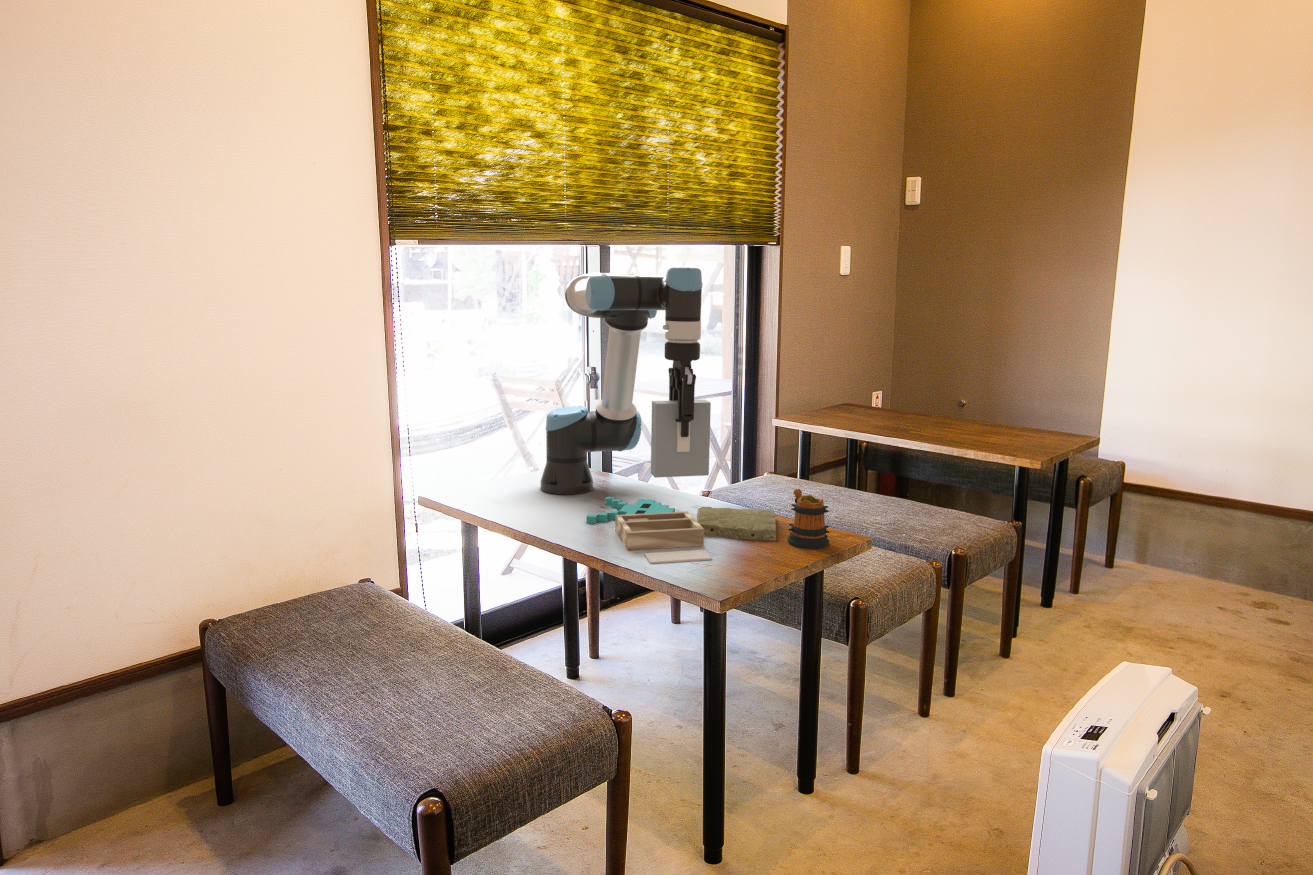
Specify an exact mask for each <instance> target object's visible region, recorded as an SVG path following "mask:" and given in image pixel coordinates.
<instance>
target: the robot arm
mask: <svg viewBox="0 0 1313 875" xmlns="http://www.w3.org/2000/svg"><path fill="white" fill-rule="evenodd" d="M702 276H703V275H702V270H701V269H700V268H699V267H696V266H689V267H688V266H670V267H668V268H667V269H666V272H665V274H660V275H649V274H646V273H636V272H631V273H630V272H622V273H621V272H619V273H618V272H591V273H585V274H582V275H581V274H580V275H578V276H576V277H574V278H573V279H571V280H570V281H569V282H568V283H567V286H566V287H565V290H564V291H565V292H564V299H565V302H566V305H567V306H568V307H569V309H570V310H571V311H573V312H574V313H576V314H578V315H581V316H584V317H588V318H594V319H595V318H596V319H598V318H599V319H604V323H605V325H607V326H608V329H609V330H608V337H607V338H608V340H607V347H606V356H605V357H606V358H605V368H604V376H603V388H602V389H603V391H602V399H601V400H599V401H598V402H597V403H596V405H595V411H593V410H592V411H589V410H588V408H587V406H583V405H578V406H576V405H574V406H573V405H571V406H566V407H565V406H564V407H560V408H556V409H554V410H551V411H550V412H548V413H547V416H546V422H545V433H546V434H545V435H546V443H545V444H546V446H545V447H546V450H545V451H546V453H545V454H546V463H545V467H544V469H543V472H542V476H541V479H540V490H541V491H542V492H545V493H547V494H548V493H549V494H553V495H578V494H585V493H588V492H591V491H593V489H594V480H593V476H592V472H591V470H590V466H589V463H588V453H592V452H593V453H595V452H596V453H597V452H623V451H631V450H632V449H635V448H636V446H637V445H638V444H639V441H640V438H641V435H642V427H641V426H642V417H641V413H640V412H639V411H638V410H637V407H636V405H635V404H634V403H633V400H634V399H633V398H634V393H635V392H634V391H635V384H636V383H635V382H636V375H637V374H636V373H637V368H638V357H639V350H640V341H641V336H642V335H641V334H642V333H641V332H643V330H645V329H646V328H647V327H648V323H649V322H648V321H649V319H650V320H651V319H654V318H655V317H656V315H657V313H658V312H657V311H665V317H664V319H665V324H663V326H662V330H665V331H664V332H665V333H664V334H665V335H664V338H665V339H666V340H667V341H665V342H664V358H665V359H666V360H668V361H672V367H669V368H668V379H669V381H668V382H669V384H668V387H669V388H668V401H673V400H678V411H679V419H675V421H676V422H677V452H689V451H690V422H691V420H693V419H694V400H695V392H696V391H695V389H696V388H695V386H696V380H697V375H696V374H695V373H694V369H693V368H692V362H693V361H694V362H695V361H698V360H700V358H701V343H700V342H699V340H701V336H702V335H701V334H702V330H701V329H702V321H701V320H702V318H701V317H702V289H703V281H702V280H703V278H702Z"/></svg>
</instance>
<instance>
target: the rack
mask: <svg viewBox="0 0 1313 875" xmlns="http://www.w3.org/2000/svg"><path fill="white" fill-rule="evenodd" d="M643 518H648V519H649V520H640V521H627V519H643ZM614 521H615V522H614V524H615V525H614V526H615V527H614V529H615V533H616V534H617V536H618V538H619V539H620V541H621V542H622V543H623V545H624V547H625V549H626V550H627V551H634V550H651V549H652V550H653V549H654V550H655V549H668V548H684V547H685V548H686V547H700V546H702V547H703V546H705V536H704V528H703V527H702V526H701V525H700V524H699V523H698V522H697V519H695V518H694V517H693V516H692V515H691V514H690V513H689V512H688V510H687V511H675V512H665V513H645V514H626V515H615V520H614Z"/></svg>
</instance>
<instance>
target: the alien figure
mask: <svg viewBox="0 0 1313 875" xmlns="http://www.w3.org/2000/svg"><path fill="white" fill-rule="evenodd" d="M604 501H605V502H604V504H605V506H610V508H613V509H616V510H610V511H608V512H604V511H603V512H600V511H599V512H598V513H597V514H595V513H594V514H593V513H589V514H587V515H586V520H585V522H586V524H595V525H596V523H597V522H600V523H601V522H603V523H606V522H607V521H615V515H626V514H645V513H665V512H676V507H669V504H663V502H662V501H656V499H650V498H649V499H647V498H638V499H637V501H636V502H635V503H634V504H628V502H626V501H622V499H617V498H616V496H606V497H605V500H604Z"/></svg>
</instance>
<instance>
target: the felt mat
mask: <svg viewBox="0 0 1313 875" xmlns="http://www.w3.org/2000/svg"><path fill="white" fill-rule="evenodd" d="M643 555H644V557H645V558H646V559H647V561H648V562H649V564H650V565H652V564H653V565H654V564H667V563H682V562H697V561H698V562H699V561H701V562H702V561H712V560H713V557H712V556H711V555H710V554H709V553H708V551H706V550H705V549H690V550H677V551H676V550H675V551H674V550H673V551H661V552H659V551H657V552H645V553H643Z"/></svg>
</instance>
